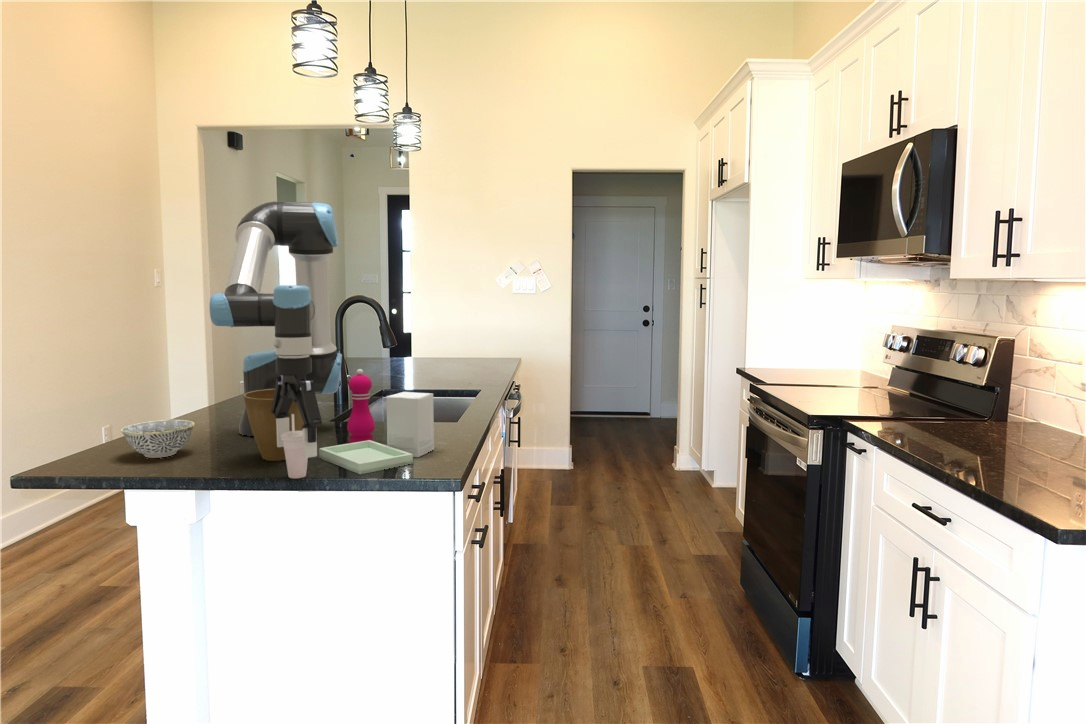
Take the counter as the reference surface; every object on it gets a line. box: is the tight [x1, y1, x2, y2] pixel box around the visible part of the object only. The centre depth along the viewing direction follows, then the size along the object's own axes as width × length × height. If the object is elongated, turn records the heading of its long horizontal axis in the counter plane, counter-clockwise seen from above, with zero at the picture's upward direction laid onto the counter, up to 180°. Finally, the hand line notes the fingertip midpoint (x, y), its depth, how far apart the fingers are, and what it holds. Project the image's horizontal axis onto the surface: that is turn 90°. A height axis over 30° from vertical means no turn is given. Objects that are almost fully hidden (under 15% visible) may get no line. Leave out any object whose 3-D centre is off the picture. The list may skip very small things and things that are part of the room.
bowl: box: [120, 419, 196, 458], centre depth 176 cm, size 16×16×8 cm
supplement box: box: [385, 391, 435, 458], centre depth 181 cm, size 9×9×15 cm
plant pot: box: [243, 389, 304, 462], centre depth 175 cm, size 15×15×16 cm
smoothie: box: [281, 414, 309, 479], centre depth 159 cm, size 6×6×14 cm
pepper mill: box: [346, 368, 376, 444], centre depth 191 cm, size 7×7×20 cm
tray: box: [318, 440, 414, 475], centre depth 173 cm, size 20×14×2 cm
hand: (296, 451), depth 159 cm, fingers open, 13 cm apart
